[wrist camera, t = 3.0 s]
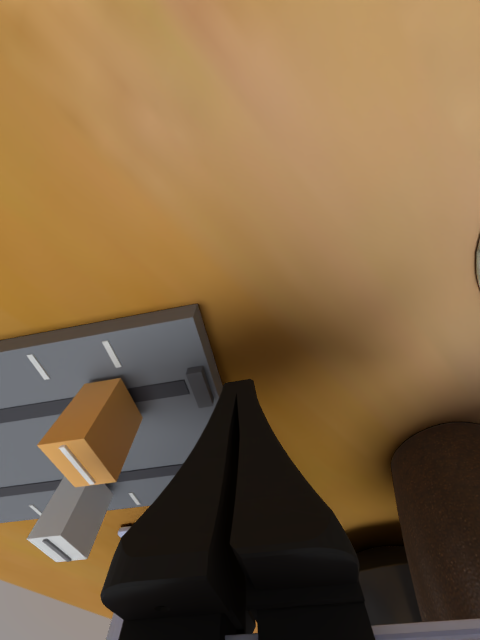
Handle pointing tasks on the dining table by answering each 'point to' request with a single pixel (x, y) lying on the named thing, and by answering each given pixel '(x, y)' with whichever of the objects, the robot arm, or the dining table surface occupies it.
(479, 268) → the coffee can
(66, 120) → the dining table surface
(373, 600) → the planter
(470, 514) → the plant pot
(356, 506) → the dining table surface
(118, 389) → the orange fader knob
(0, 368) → the console
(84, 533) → the grey fader knob
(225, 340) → the dining table surface
